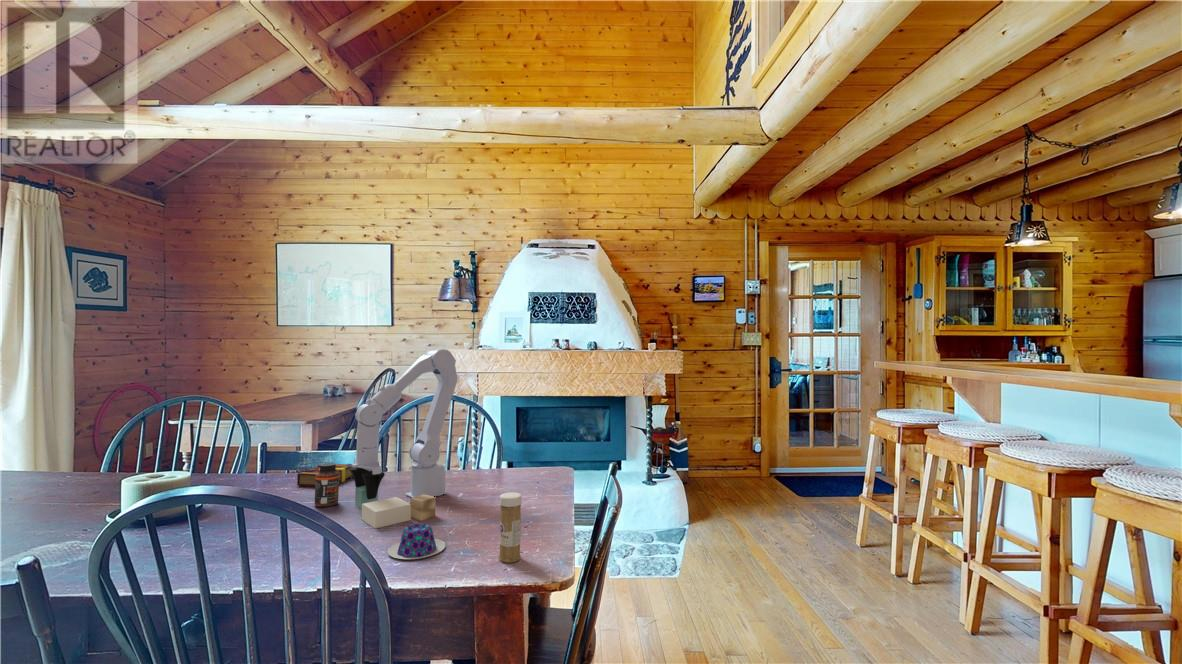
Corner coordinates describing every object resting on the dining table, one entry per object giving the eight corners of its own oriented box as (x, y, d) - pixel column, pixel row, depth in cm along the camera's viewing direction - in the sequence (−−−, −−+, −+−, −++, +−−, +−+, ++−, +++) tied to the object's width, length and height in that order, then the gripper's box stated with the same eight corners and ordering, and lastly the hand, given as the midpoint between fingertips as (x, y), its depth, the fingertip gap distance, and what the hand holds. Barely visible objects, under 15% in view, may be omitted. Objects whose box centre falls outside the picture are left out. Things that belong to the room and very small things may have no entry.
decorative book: (295, 487, 161) (296, 471, 162) (329, 475, 177) (329, 460, 178) (328, 489, 160) (328, 473, 160) (359, 476, 176) (359, 461, 176)
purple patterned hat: (389, 566, 103) (389, 540, 104) (386, 545, 114) (386, 522, 114) (449, 557, 108) (449, 532, 109) (441, 538, 119) (441, 515, 120)
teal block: (371, 502, 146) (371, 484, 146) (377, 505, 143) (378, 487, 143) (355, 505, 143) (355, 487, 143) (361, 508, 140) (361, 490, 140)
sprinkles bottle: (494, 559, 107) (495, 494, 107) (511, 553, 110) (511, 490, 110) (508, 565, 104) (509, 499, 104) (525, 558, 107) (526, 494, 108)
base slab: (395, 511, 137) (396, 496, 137) (410, 520, 131) (410, 504, 131) (361, 519, 131) (361, 503, 131) (375, 528, 124) (375, 512, 124)
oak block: (423, 513, 136) (423, 494, 137) (435, 516, 134) (435, 496, 134) (409, 517, 133) (410, 498, 133) (421, 521, 130) (422, 501, 130)
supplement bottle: (328, 508, 140) (329, 467, 140) (309, 507, 141) (310, 465, 141) (343, 502, 145) (344, 462, 146) (324, 500, 147) (325, 461, 147)
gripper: (343, 445, 146) (342, 492, 145) (362, 452, 135) (361, 504, 135) (368, 442, 151) (367, 488, 150) (388, 449, 140) (387, 499, 140)
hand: (366, 495), depth 143 cm, fingers open, 7 cm apart
